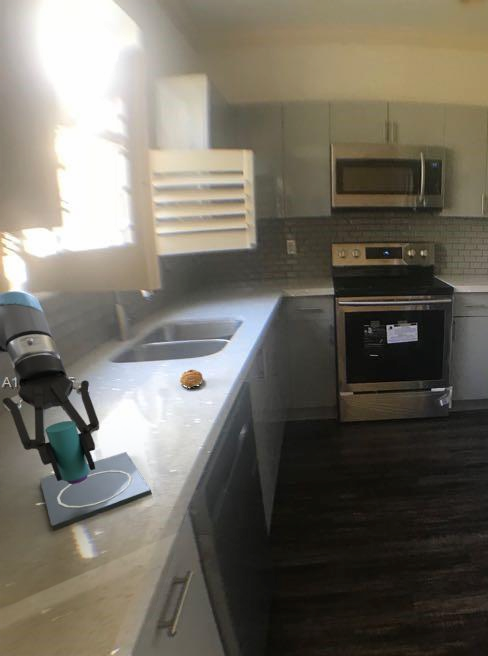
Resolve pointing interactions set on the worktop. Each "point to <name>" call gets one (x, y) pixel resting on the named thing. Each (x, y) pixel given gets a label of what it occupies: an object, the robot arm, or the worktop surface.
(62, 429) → the dot marker
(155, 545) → the worktop surface
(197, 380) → the pastry
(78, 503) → the slate board
